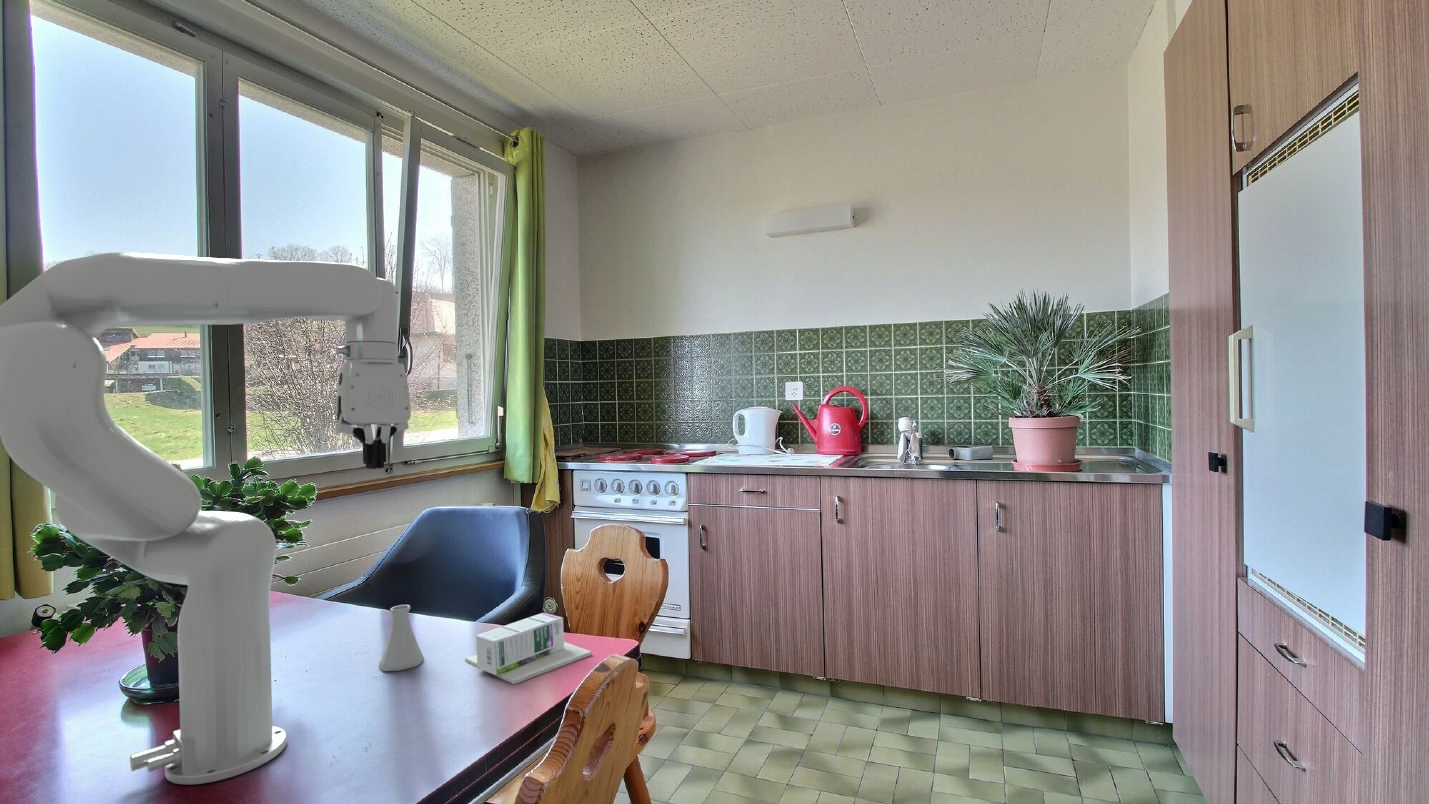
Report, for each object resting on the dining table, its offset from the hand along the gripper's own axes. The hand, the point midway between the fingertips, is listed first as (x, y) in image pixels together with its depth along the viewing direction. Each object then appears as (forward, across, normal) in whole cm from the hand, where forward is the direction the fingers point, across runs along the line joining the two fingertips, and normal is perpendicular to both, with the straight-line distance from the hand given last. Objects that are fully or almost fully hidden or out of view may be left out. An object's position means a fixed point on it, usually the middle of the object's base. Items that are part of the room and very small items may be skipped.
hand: (374, 467), depth 107 cm
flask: (+35, +6, +6) cm, 36 cm away
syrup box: (+32, +12, -11) cm, 36 cm away
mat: (+35, +21, -10) cm, 42 cm away
